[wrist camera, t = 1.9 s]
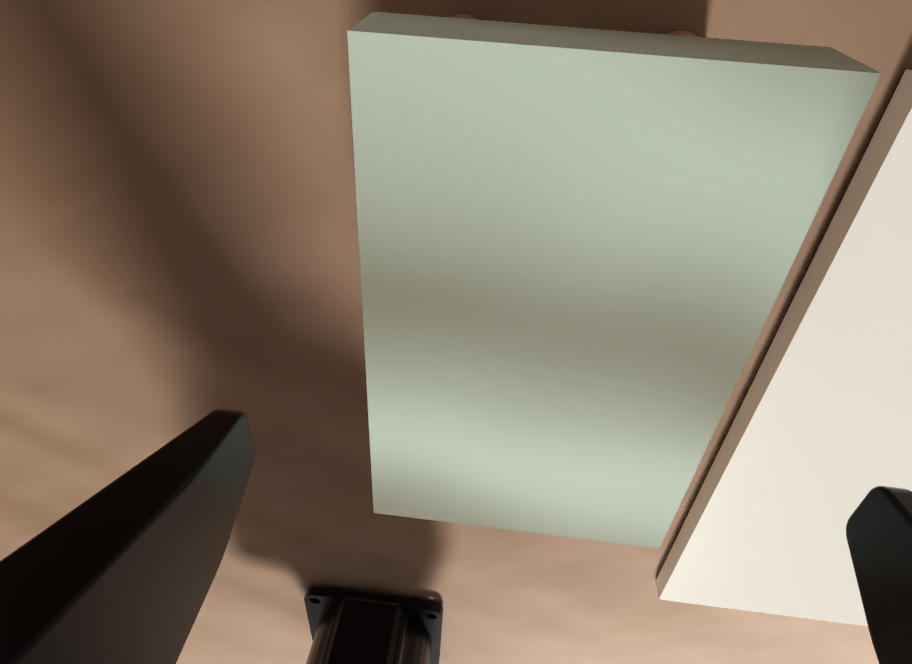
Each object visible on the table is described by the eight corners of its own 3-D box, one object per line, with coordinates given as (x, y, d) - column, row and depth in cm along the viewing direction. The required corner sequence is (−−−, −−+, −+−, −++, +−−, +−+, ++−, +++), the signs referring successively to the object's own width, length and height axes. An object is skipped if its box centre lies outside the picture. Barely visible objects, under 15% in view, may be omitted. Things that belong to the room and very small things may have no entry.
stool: (625, 373, 18) (659, 548, 13) (415, 350, 18) (373, 513, 13) (739, 0, 12) (882, 73, 7) (420, -23, 12) (347, 30, 7)
